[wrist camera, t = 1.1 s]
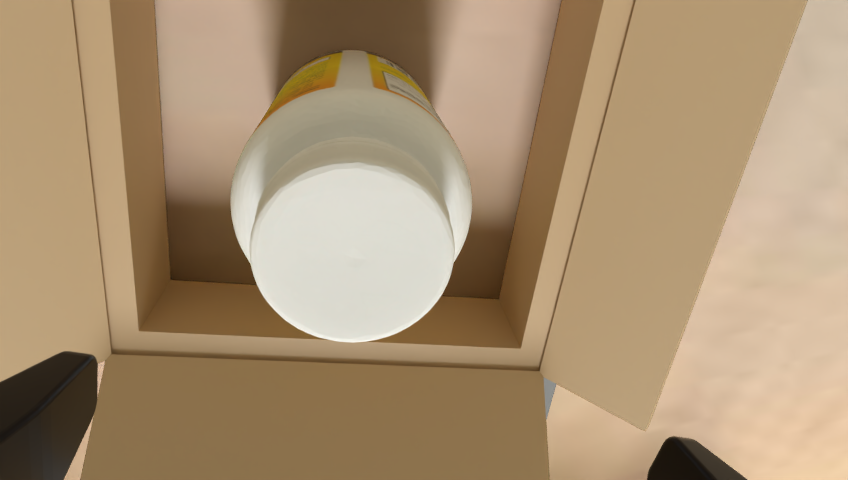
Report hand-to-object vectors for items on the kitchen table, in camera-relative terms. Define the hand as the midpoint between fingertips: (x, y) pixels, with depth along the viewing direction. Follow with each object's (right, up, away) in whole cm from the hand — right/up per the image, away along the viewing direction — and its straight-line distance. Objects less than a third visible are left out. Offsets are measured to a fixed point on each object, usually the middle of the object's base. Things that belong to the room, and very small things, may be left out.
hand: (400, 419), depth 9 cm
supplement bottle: (-2, +7, +11) cm, 13 cm away
